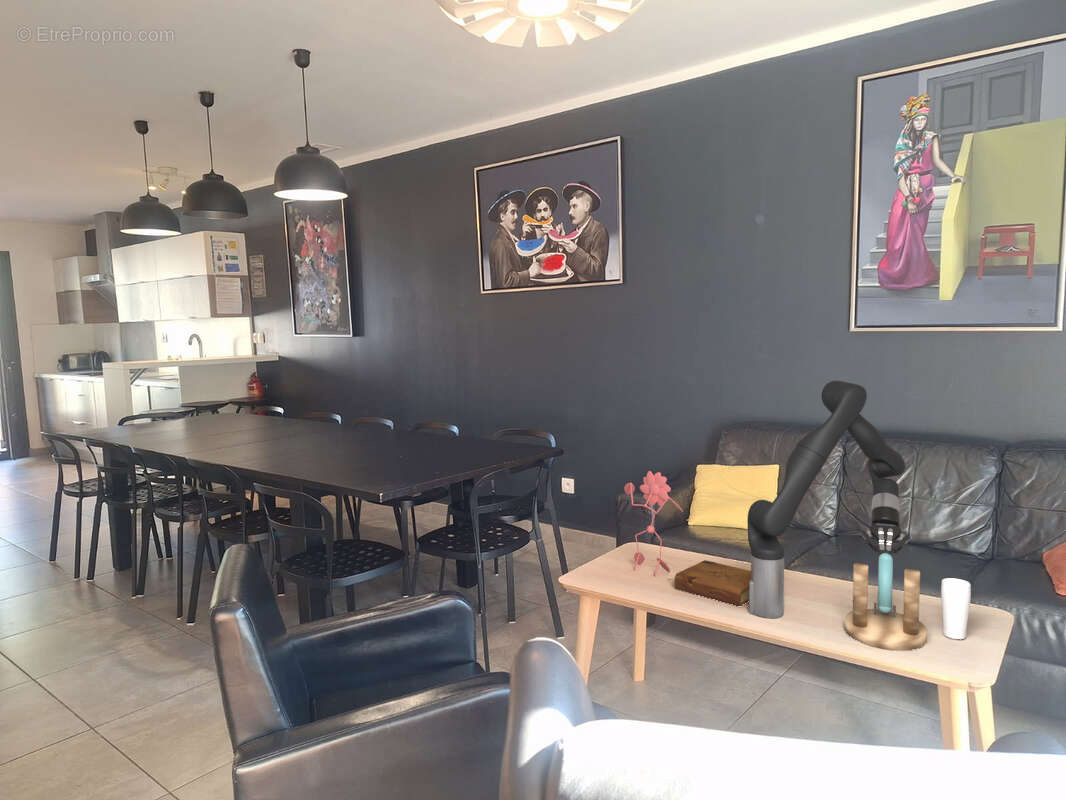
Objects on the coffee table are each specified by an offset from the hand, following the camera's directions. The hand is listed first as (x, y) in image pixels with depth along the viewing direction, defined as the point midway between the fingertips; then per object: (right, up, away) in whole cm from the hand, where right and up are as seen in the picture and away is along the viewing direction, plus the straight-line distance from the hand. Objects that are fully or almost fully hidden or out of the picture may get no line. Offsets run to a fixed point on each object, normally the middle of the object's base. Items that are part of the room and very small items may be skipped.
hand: (885, 564), depth 199 cm
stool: (-5, -17, -10) cm, 20 cm away
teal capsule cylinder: (-3, -13, -5) cm, 14 cm away
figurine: (-57, -13, +47) cm, 75 cm away
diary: (-40, -15, +25) cm, 50 cm away
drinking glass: (+12, -17, -13) cm, 24 cm away
